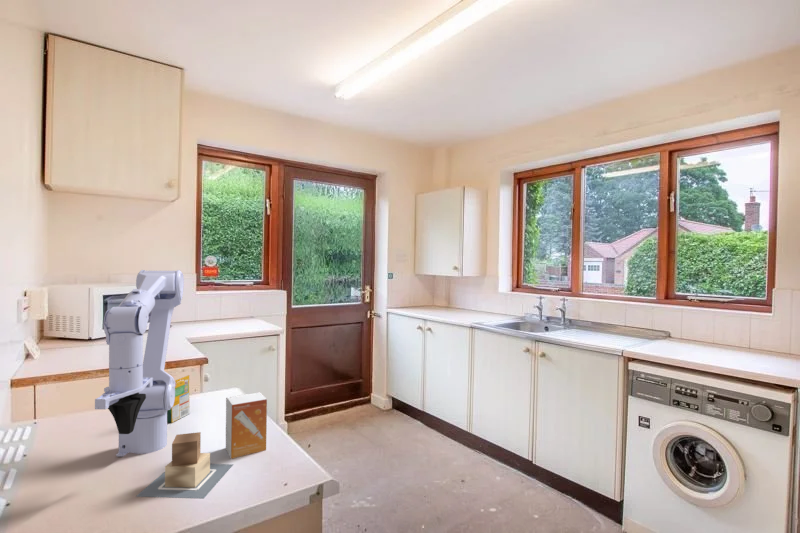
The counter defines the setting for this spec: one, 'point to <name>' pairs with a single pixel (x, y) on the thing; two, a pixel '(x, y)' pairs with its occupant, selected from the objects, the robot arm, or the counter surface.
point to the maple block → (187, 473)
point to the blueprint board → (199, 491)
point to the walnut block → (186, 449)
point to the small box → (246, 424)
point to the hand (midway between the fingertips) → (126, 432)
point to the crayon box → (180, 401)
